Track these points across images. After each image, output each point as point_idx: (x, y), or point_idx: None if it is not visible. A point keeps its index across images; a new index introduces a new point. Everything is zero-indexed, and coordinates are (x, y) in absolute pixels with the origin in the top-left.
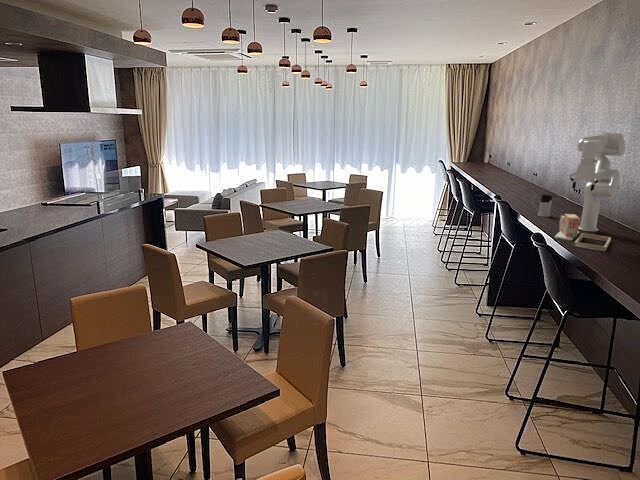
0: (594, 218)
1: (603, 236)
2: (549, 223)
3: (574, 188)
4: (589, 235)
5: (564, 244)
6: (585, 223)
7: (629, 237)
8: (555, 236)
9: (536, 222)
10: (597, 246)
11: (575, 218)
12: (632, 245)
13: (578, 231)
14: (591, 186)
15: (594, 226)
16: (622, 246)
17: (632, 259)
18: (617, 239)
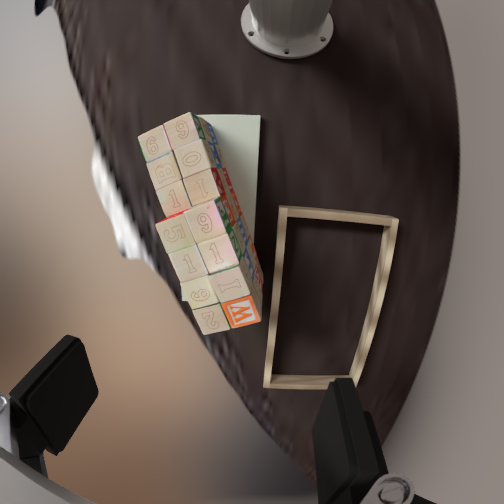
0: (320, 15)
1: (370, 220)
2: (129, 25)
3: (92, 389)
4: (313, 217)
5: (234, 370)
6: (277, 33)
7: (444, 90)
8: (185, 300)
9: (87, 52)
10: None
11: (235, 327)
12: (450, 234)
13: (257, 120)
14: (322, 484)
15: (319, 30)
16: (419, 276)
17: (402, 401)
18: (414, 155)
